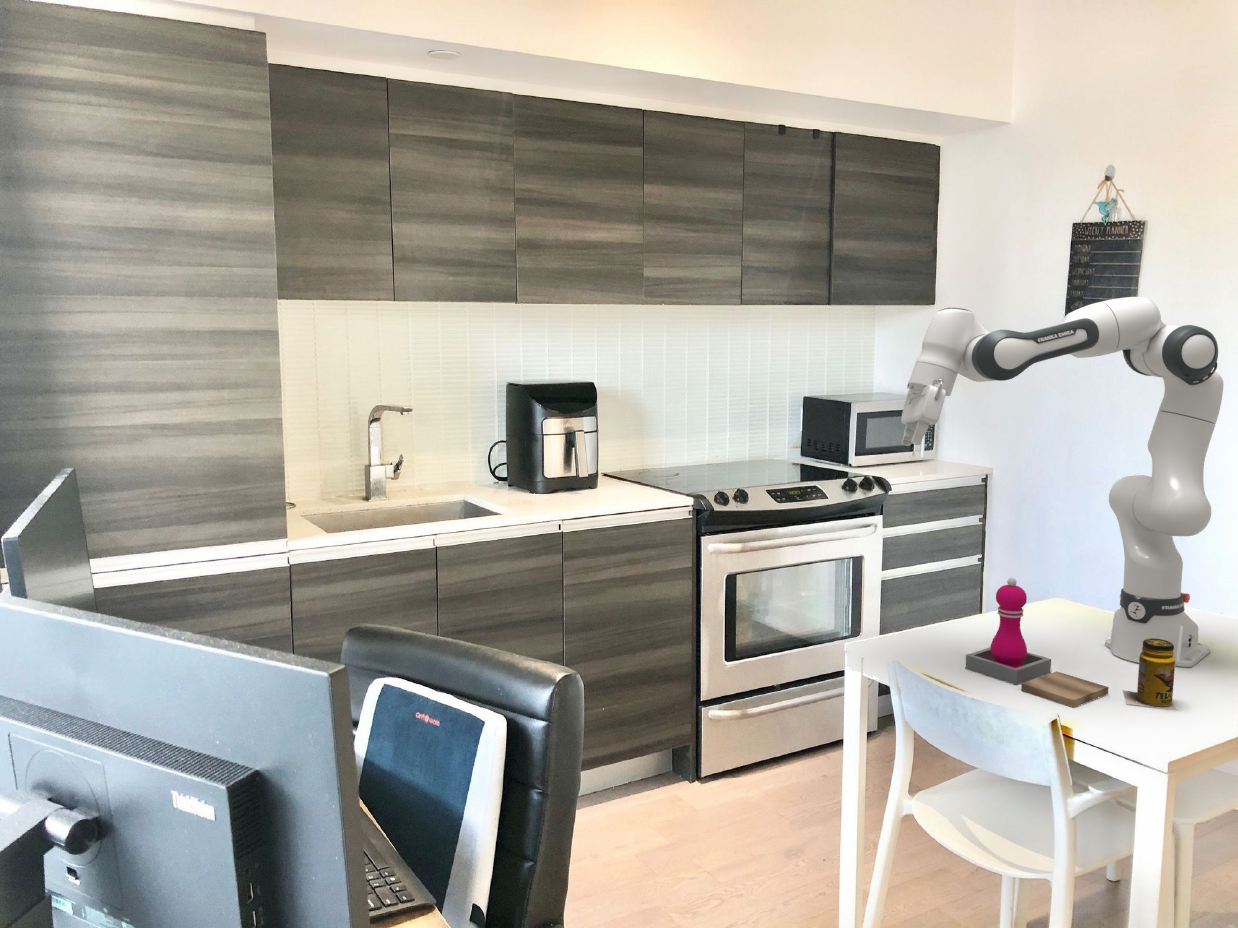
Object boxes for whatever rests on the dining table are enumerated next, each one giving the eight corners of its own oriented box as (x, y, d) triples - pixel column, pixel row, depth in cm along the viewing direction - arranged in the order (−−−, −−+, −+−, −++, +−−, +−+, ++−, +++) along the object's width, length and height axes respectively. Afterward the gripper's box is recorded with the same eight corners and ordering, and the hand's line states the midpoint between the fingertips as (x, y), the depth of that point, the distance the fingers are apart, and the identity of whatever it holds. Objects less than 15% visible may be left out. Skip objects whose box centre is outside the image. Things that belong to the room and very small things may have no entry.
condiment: (1176, 710, 187) (1181, 649, 186) (1126, 704, 190) (1130, 644, 189) (1171, 697, 194) (1175, 637, 192) (1122, 691, 197) (1126, 633, 195)
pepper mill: (1029, 677, 205) (1034, 583, 202) (992, 675, 206) (996, 581, 204) (1022, 665, 212) (1027, 574, 209) (986, 663, 213) (990, 573, 211)
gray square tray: (999, 657, 218) (1000, 644, 217) (1050, 672, 208) (1051, 658, 207) (965, 668, 211) (966, 654, 210) (1016, 684, 201) (1016, 670, 201)
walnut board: (1056, 678, 205) (1056, 671, 204) (1107, 694, 196) (1108, 686, 195) (1021, 690, 198) (1021, 683, 198) (1073, 707, 189) (1073, 700, 189)
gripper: (959, 382, 198) (936, 448, 198) (935, 390, 218) (914, 450, 218) (928, 373, 198) (905, 438, 198) (907, 381, 218) (886, 441, 219)
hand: (910, 444), depth 209 cm, fingers open, 8 cm apart
